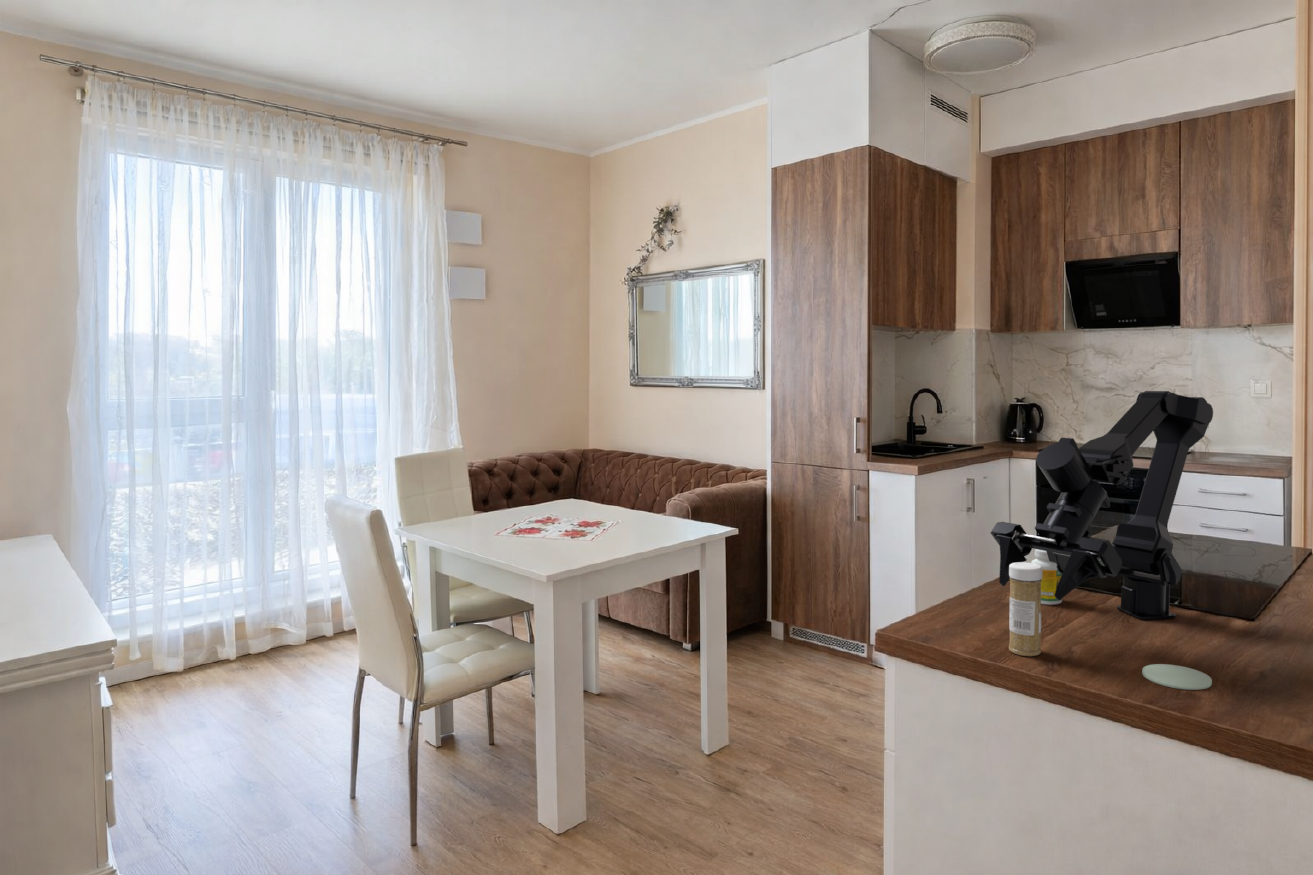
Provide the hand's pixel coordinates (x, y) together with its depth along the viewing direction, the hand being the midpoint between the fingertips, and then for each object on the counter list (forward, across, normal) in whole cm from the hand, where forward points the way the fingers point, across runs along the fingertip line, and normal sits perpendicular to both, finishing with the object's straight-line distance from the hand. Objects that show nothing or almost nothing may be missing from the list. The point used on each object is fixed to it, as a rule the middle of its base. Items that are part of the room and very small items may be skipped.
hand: (1028, 591), depth 121 cm
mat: (+2, -18, -12) cm, 21 cm away
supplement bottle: (-12, +14, -25) cm, 31 cm away
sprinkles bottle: (+7, 0, -6) cm, 9 cm away
